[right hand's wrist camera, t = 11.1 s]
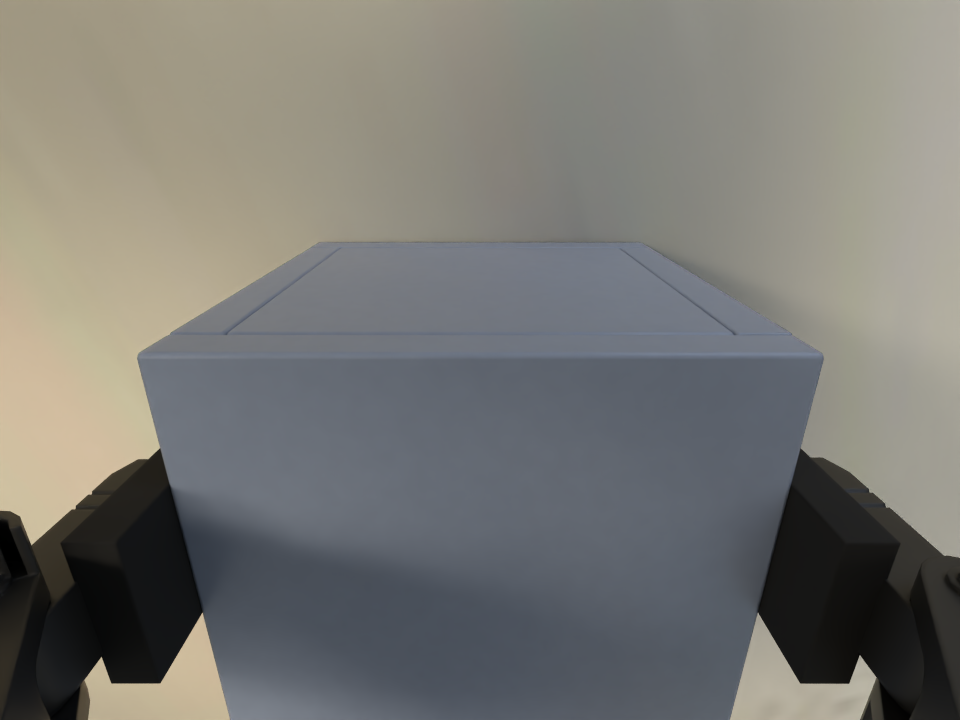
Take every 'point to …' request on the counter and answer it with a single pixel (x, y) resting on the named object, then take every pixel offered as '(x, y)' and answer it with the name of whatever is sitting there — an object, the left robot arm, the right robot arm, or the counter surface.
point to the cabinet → (480, 481)
